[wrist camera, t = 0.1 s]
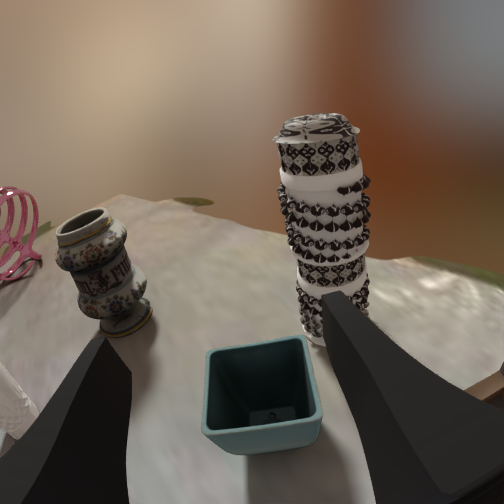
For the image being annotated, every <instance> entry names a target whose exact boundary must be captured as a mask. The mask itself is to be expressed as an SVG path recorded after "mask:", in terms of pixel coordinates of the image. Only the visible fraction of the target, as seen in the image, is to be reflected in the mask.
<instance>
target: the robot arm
mask: <svg viewBox="0 0 504 504" xmlns="http://www.w3.org/2000/svg"><path fill="white" fill-rule="evenodd" d="M321 302H322V321H323V338H324V342H325V345H326V348H327V352H328V355H329V358H330V362H331V365H332V367H333V370H334V372H335V374H336V377H337V379H338V382H339V384H340V386H341V389H342V391H343V393H344V396H345V398H346V401H347V403H348V405H349V408H350V410H351V413H352V415H353V417H354V420H355V423H356V426H357V428H358V431H359V435H360V439H361V442H362V446H363V449H364V453H365V457H366V461H367V465H368V469H369V473H370V477H371V481H372V486H373V491H374V495H375V500H376V504H504V410H502V409H499V408H497V407H495V406H492V405H490V404H488V403H486V402H484V401H482V400H480V399H478V398H476V397H474V396H472V395H470V394H469V393H467V392H465V391H463V390H461V389H460V388H458V387H456V386H454V385H452V384H451V383H449V382H447V381H446V380H444V379H443V378H441V377H440V376H438V375H437V374H435V373H434V372H432V371H431V370H429V369H428V368H426V367H425V366H424V365H422V364H421V363H420V362H418V361H417V360H416V359H414V358H413V357H412V356H410V355H409V354H408V353H407V352H405V351H404V350H403V349H402V348H401V347H399V346H398V345H397V344H396V343H395V342H393V341H392V340H391V339H390V338H389V337H388V336H387V335H386V334H384V333H383V332H382V331H381V330H380V329H379V328H378V327H377V326H376V325H375V324H374V323H373V322H371V321H370V320H369V319H368V318H367V317H366V316H365V315H364V314H363V313H362V312H361V311H360V310H359V309H358V308H357V307H356V306H355V305H354V304H353V302H352V301H351V300H350V299H349V298H348V297H347V296H346V295H345V294H344V293H343V292H342V291H340V290H339V291H335V292H331V293H327V294H323V295H321ZM131 401H132V372H131V371H130V370H129V369H128V367H127V366H126V365H125V363H124V362H123V361H122V359H121V358H120V357H119V355H118V354H117V353H116V351H115V350H114V348H113V347H112V346H111V344H110V343H109V341H108V340H107V339H106V337H105V338H98V339H92V340H91V341H90V342H89V343H88V345H87V346H86V347H85V349H84V350H83V352H82V353H81V355H80V356H79V357H78V359H77V360H76V362H75V363H74V365H73V366H72V368H71V369H70V371H69V372H68V374H67V375H66V377H65V378H64V380H63V382H62V383H61V385H60V386H59V388H58V389H57V391H56V392H55V393H54V395H53V396H52V398H51V399H50V401H49V402H48V403H47V405H46V406H45V408H44V409H43V411H42V412H41V413H40V415H39V416H38V417H37V419H36V420H35V421H34V422H33V424H32V425H31V426H30V427H29V429H28V430H27V431H26V432H25V433H24V435H23V436H22V437H21V438H20V439H19V440H18V441H17V442H16V443H15V444H14V445H13V446H12V448H11V449H10V450H9V451H8V452H7V453H6V454H5V455H3V456H2V457H1V458H0V504H129V497H128V488H127V476H126V448H127V438H128V428H129V419H130V410H131Z"/></svg>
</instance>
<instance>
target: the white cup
mask: <svg viewBox="0 0 504 504" xmlns="http://www.w3.org/2000/svg"><path fill="white" fill-rule="evenodd" d="M38 416H39V412H38V409H37V407H36V406H35V405H34V404H33V403H32V401H31V400H30V399H29V398H28V397H27V395H26V394H25V393H24V391H23V390H22V389H21V388H20V386H19V385H18V384H17V382H16V381H15V380H14V379H13V377H12V376H11V375H10V374H9V372H8V371H7V370H6V368H5V367H4V366H3V364H2V363H1V362H0V428H1V429H3V430H4V431H6V432H7V433H8V434H9V435H11V436H12V437H13V438H14V439H20V438H21V437H22V436H23V435H24V433H25V432H26V431H27V430H28V429H29V427H30V426H31V425H32V424H33V422H34V421H35V420H36V419H37V417H38Z"/></svg>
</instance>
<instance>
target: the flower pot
mask: <svg viewBox="0 0 504 504" xmlns="http://www.w3.org/2000/svg"><path fill="white" fill-rule="evenodd" d="M270 414H274V415H275V416H274V417H273V418H271V417H270ZM322 417H323V409H322V405H321V401H320V397H319V393H318V388H317V384H316V380H315V376H314V371H313V367H312V362H311V358H310V354H309V349H308V345H307V340H306V337H305V336H304V335H292V336H287V337H282V338H277V339H273V340H267V341H262V342H256V343H251V344H244V345H235V346H229V347H222V348H215V349H212V350H209V351H207V353H206V362H205V383H204V397H203V412H202V422H201V430H202V433H203V434H204V435H205V436H206V437H207V438H209V439H210V440H211V441H212V442H214V443H215V444H216V445H217V446H219V447H220V448H221V449H223V450H224V451H226V452H228V453H231V454H235V455H252V454H260V453H267V452H275V451H282V450H288V449H295V448H301V447H306V446H309V445H311V444H312V443H314V442H315V441H316V439H317V437H318V435H319V431H320V426H321V422H322Z"/></svg>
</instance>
